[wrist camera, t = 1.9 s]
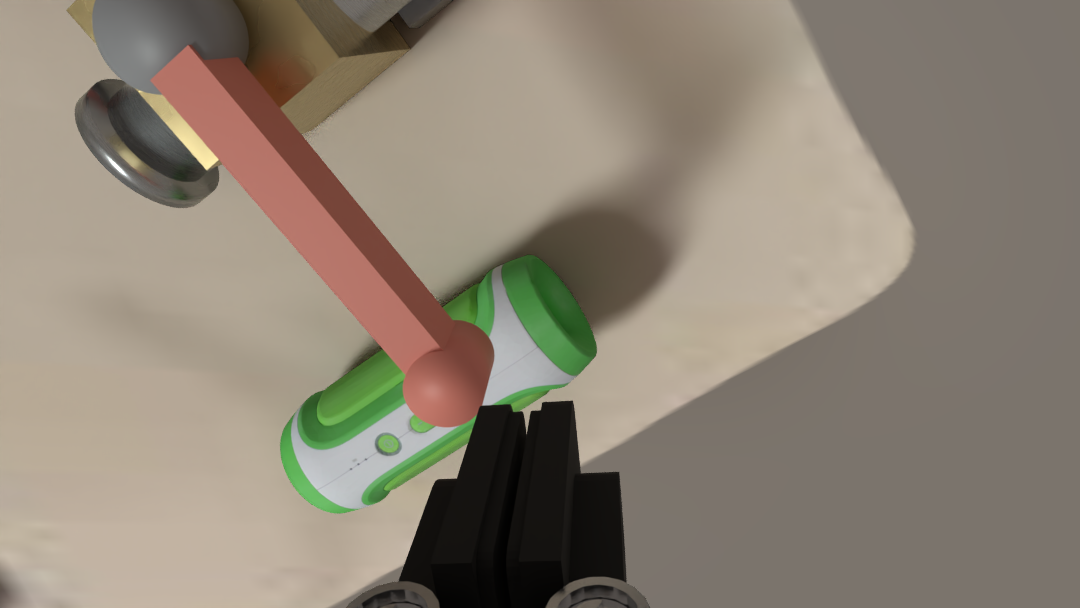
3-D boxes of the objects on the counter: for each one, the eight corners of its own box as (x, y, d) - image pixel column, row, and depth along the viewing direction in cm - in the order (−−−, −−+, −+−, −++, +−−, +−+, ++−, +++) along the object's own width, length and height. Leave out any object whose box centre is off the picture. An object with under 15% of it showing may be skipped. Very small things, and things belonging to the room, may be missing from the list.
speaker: (380, 468, 45) (342, 550, 38) (303, 388, 43) (249, 458, 36) (601, 327, 40) (605, 390, 33) (526, 229, 38) (514, 274, 31)
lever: (448, 397, 29) (431, 444, 26) (127, 22, 24) (56, 20, 21) (515, 355, 28) (507, 398, 25) (196, -46, 23) (133, -58, 20)
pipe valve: (240, 189, 38) (114, 248, 28) (146, 81, 36) (-25, 102, 26) (496, -22, 33) (458, -43, 23) (404, -158, 31) (319, -248, 21)
